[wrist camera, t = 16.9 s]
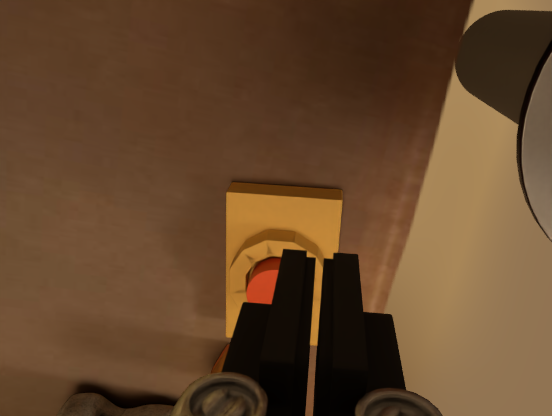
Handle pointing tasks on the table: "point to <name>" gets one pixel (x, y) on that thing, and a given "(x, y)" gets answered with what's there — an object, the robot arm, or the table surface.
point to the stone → (107, 407)
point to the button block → (277, 235)
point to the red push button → (263, 281)
